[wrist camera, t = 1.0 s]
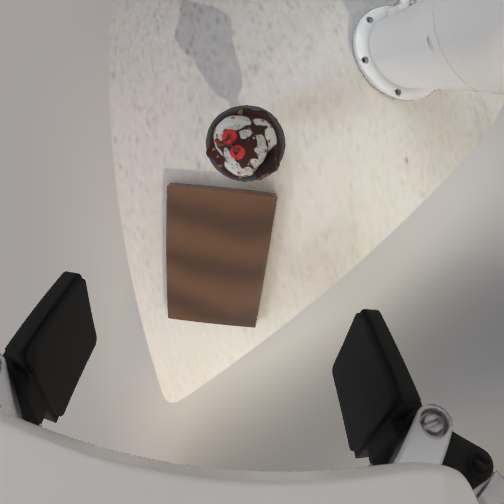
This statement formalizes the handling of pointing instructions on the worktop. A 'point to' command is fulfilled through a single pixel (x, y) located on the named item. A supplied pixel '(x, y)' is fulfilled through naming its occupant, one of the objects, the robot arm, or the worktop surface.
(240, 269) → the serving board
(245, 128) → the sundae
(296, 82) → the worktop surface
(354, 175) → the worktop surface
